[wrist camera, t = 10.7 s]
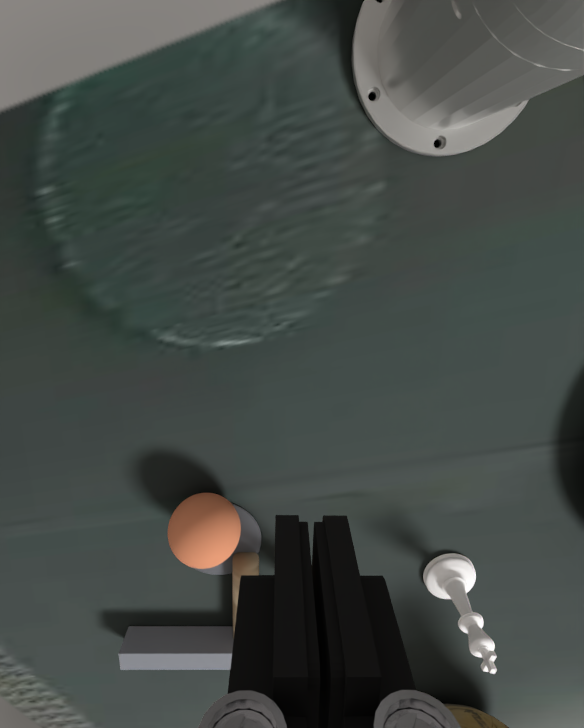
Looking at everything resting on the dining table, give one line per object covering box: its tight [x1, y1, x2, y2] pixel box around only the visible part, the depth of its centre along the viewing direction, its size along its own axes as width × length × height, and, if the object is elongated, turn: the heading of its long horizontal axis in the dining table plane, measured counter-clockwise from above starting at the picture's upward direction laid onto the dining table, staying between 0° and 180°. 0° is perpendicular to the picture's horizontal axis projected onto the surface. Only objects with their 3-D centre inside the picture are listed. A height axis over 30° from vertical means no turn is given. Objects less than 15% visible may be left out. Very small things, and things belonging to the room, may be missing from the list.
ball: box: [168, 493, 241, 569], centre depth 39 cm, size 6×6×6 cm
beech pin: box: [232, 552, 259, 639], centre depth 44 cm, size 2×2×9 cm
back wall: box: [119, 626, 234, 670], centre depth 45 cm, size 2×18×3 cm, turn 89°
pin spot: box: [192, 503, 261, 575], centre depth 43 cm, size 8×8×1 cm
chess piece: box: [423, 553, 497, 674], centre depth 40 cm, size 5×5×10 cm
